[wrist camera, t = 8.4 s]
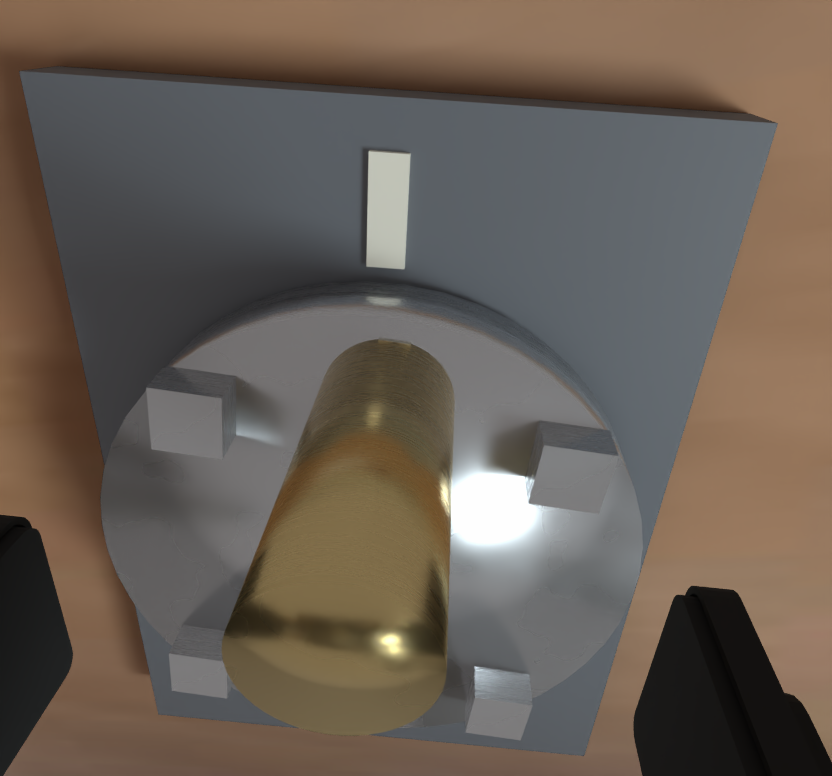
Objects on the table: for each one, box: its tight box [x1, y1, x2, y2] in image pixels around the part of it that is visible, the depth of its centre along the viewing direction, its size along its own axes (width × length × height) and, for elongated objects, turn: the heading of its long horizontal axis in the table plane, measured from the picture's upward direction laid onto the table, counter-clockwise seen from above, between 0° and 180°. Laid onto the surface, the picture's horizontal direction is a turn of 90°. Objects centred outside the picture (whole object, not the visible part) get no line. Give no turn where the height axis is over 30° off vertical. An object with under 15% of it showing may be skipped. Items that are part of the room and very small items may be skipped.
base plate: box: [19, 66, 778, 756], centre depth 20 cm, size 22×16×2 cm
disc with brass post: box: [100, 281, 643, 740], centre depth 15 cm, size 14×14×9 cm
